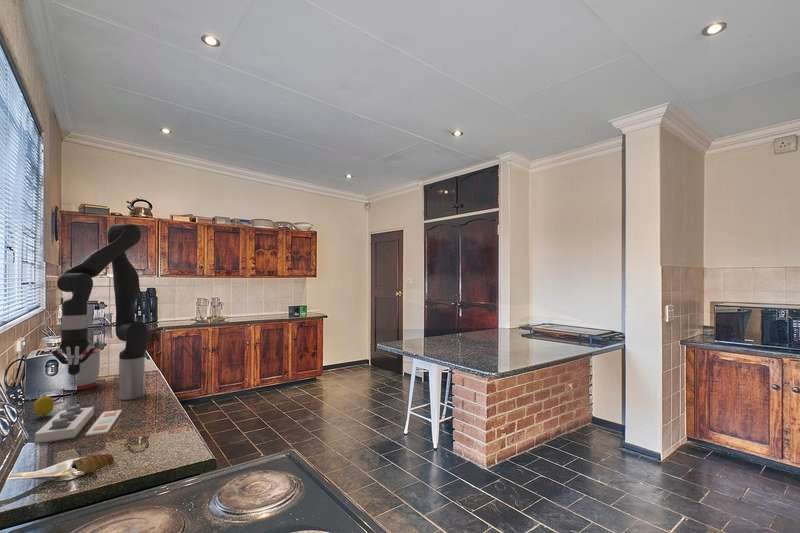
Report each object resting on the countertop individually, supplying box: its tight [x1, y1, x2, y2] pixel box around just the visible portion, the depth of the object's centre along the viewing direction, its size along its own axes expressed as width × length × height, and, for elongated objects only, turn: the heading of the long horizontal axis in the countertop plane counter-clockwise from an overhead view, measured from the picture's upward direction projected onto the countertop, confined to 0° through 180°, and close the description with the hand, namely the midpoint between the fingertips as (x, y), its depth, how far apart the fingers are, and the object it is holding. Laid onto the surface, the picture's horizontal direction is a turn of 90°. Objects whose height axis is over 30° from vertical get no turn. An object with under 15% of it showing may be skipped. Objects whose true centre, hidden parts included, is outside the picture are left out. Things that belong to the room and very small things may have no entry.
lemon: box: [33, 395, 55, 418], centre depth 149 cm, size 6×6×8 cm
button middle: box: [60, 411, 75, 421], centre depth 138 cm, size 4×4×3 cm
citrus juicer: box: [76, 348, 101, 391], centre depth 184 cm, size 16×17×20 cm
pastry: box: [70, 453, 115, 475], centre depth 110 cm, size 9×7×4 cm
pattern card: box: [85, 409, 123, 437], centre depth 143 cm, size 6×23×1 cm, turn 25°
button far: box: [66, 404, 82, 414], centre depth 145 cm, size 4×4×3 cm
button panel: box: [34, 406, 95, 444], centre depth 138 cm, size 10×23×3 cm, turn 25°
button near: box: [52, 418, 68, 430], centre depth 132 cm, size 4×4×3 cm
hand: (74, 374), depth 145 cm, fingers closed
